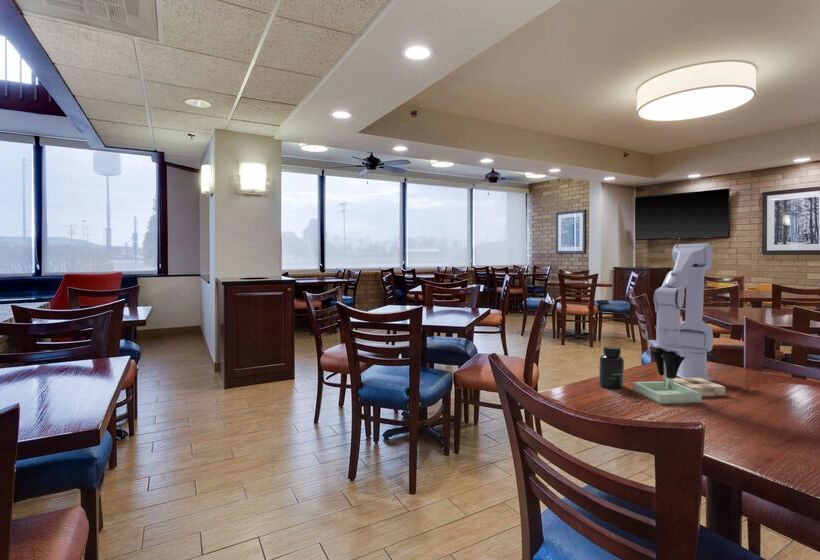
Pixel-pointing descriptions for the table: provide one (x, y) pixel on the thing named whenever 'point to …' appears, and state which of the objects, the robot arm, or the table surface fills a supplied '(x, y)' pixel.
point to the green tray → (667, 393)
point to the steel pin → (667, 381)
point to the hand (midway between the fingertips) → (667, 376)
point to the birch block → (701, 386)
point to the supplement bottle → (611, 368)
